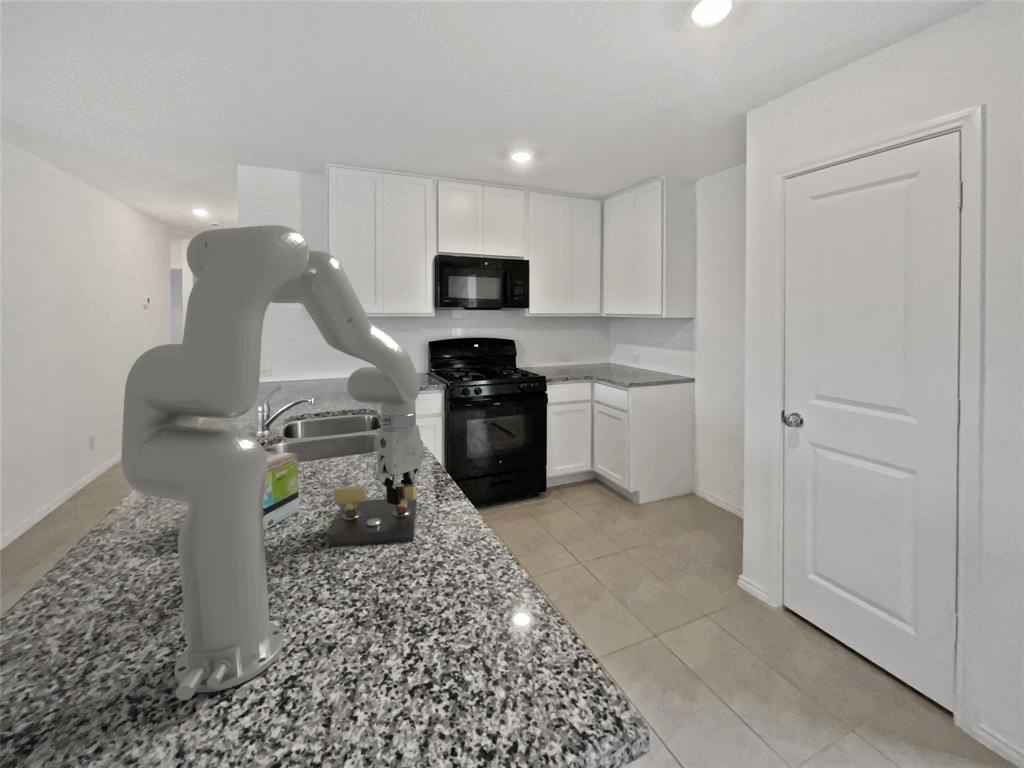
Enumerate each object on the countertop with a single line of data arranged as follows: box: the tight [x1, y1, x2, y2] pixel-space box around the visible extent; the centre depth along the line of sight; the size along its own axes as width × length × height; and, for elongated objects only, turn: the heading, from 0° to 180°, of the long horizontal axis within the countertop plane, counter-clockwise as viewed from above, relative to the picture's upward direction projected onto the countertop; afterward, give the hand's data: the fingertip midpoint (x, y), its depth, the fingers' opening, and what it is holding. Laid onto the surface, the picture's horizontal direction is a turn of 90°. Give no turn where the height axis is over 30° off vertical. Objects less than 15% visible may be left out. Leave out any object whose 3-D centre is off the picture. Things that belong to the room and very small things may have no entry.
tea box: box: [263, 450, 300, 531], centre depth 105 cm, size 15×10×15 cm
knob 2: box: [385, 483, 417, 513], centre depth 104 cm, size 3×6×6 cm, turn 83°
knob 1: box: [333, 485, 367, 516], centre depth 102 cm, size 3×6×6 cm, turn 100°
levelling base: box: [327, 496, 418, 547], centre depth 104 cm, size 18×17×3 cm
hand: (400, 499), depth 104 cm, fingers open, 3 cm apart
